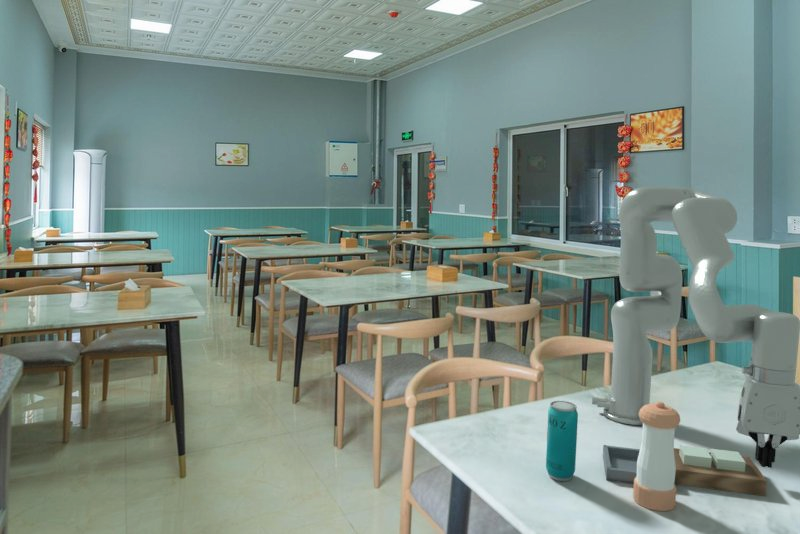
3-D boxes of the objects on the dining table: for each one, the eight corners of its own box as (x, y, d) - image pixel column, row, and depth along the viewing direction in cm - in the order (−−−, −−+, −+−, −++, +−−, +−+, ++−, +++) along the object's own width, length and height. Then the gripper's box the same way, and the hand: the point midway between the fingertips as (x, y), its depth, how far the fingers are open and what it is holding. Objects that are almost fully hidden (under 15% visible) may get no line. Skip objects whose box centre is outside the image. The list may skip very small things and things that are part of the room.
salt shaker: (663, 491, 112) (669, 395, 110) (682, 511, 105) (690, 409, 103) (626, 491, 112) (632, 395, 110) (643, 511, 104) (649, 409, 102)
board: (674, 483, 115) (675, 469, 115) (665, 460, 125) (666, 447, 125) (765, 496, 111) (767, 481, 110) (748, 470, 121) (749, 457, 121)
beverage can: (552, 467, 122) (555, 398, 120) (579, 475, 118) (582, 404, 116) (540, 476, 117) (543, 405, 115) (567, 485, 114) (571, 412, 112)
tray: (606, 480, 116) (607, 468, 116) (602, 455, 128) (603, 445, 127) (674, 489, 113) (675, 477, 112) (664, 463, 124) (665, 452, 124)
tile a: (716, 468, 115) (717, 458, 115) (710, 457, 120) (711, 448, 120) (744, 471, 114) (745, 462, 114) (737, 461, 119) (738, 451, 118)
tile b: (683, 464, 117) (684, 454, 117) (679, 454, 122) (679, 445, 121) (711, 467, 116) (711, 458, 115) (705, 457, 120) (706, 448, 120)
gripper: (735, 376, 111) (727, 467, 113) (824, 384, 107) (815, 478, 109) (724, 366, 119) (717, 451, 121) (808, 373, 115) (799, 461, 117)
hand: (764, 464), depth 115 cm, fingers closed
